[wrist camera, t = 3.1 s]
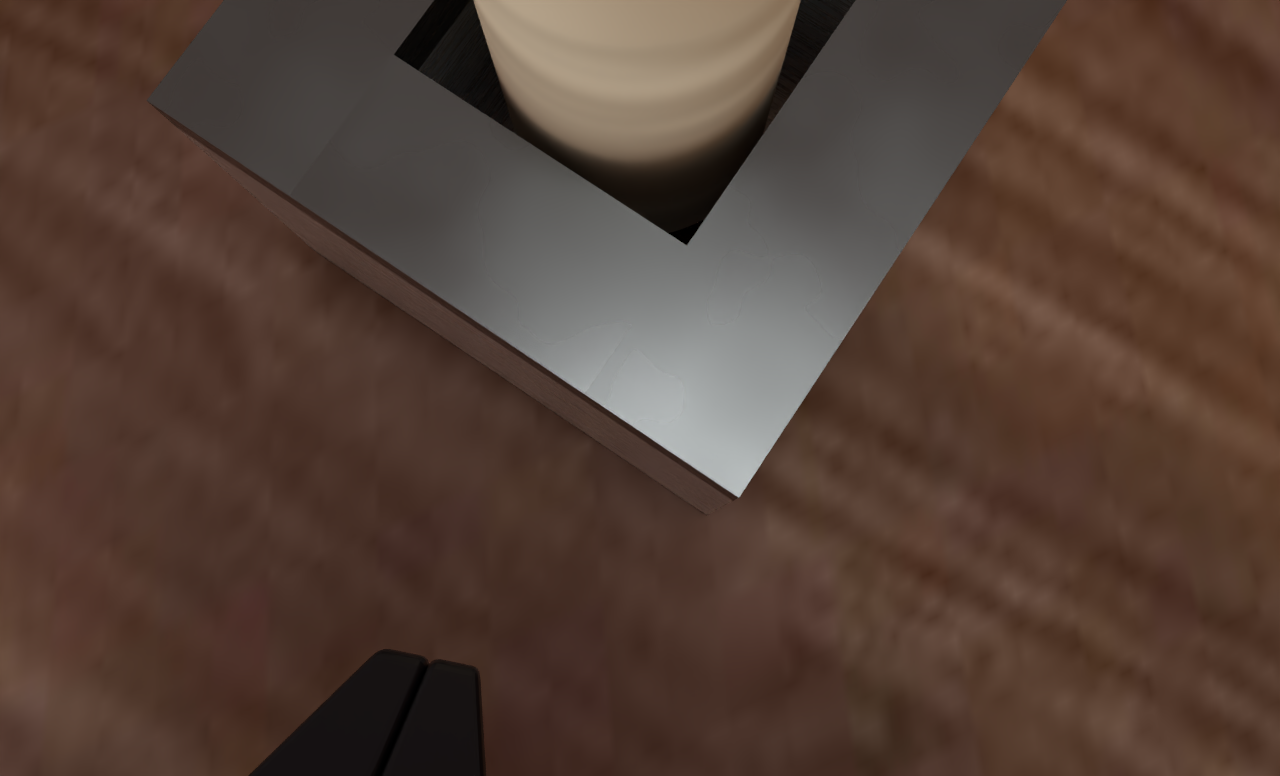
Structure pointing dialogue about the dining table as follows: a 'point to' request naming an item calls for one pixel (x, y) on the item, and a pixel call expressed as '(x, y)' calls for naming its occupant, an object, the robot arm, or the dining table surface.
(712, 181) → the peg
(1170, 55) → the dining table surface
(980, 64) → the collar
